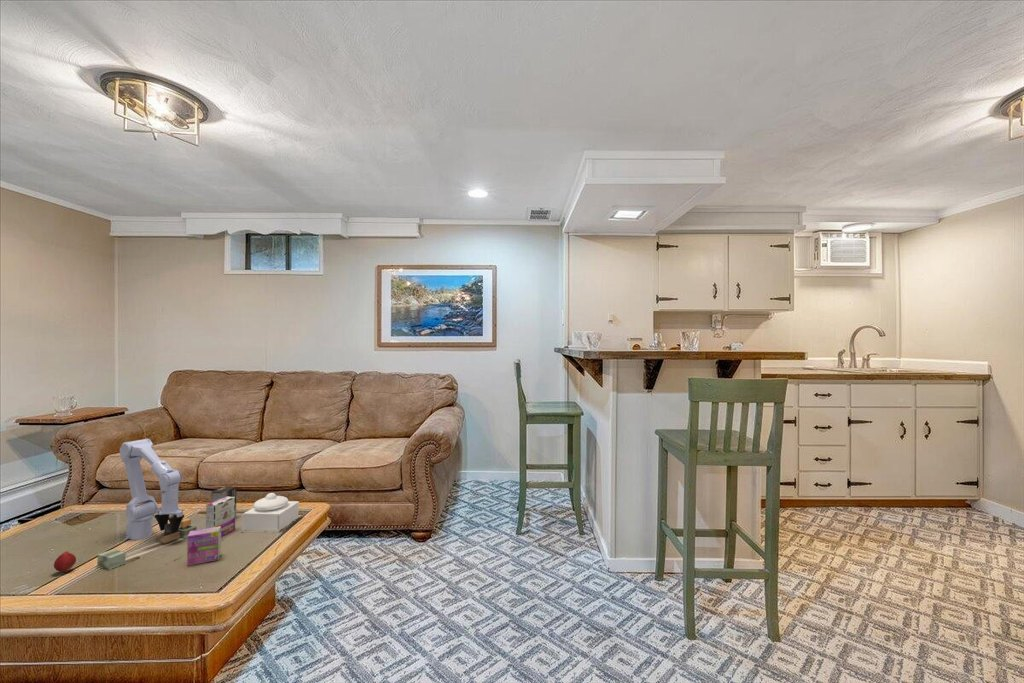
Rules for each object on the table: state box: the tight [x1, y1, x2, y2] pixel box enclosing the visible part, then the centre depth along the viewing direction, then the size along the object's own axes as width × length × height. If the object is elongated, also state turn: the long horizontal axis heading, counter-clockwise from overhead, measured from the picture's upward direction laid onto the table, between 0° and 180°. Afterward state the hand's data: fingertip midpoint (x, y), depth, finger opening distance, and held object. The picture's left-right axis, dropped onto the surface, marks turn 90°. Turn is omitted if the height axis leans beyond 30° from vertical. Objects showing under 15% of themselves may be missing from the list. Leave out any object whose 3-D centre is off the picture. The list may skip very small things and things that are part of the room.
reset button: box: [180, 518, 192, 530], centre depth 193 cm, size 3×3×4 cm
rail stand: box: [96, 525, 198, 570], centre depth 181 cm, size 8×32×4 cm, turn 160°
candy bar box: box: [205, 496, 236, 538], centre depth 195 cm, size 11×5×16 cm, turn 168°
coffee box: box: [211, 485, 237, 519], centre depth 213 cm, size 9×6×16 cm
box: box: [186, 526, 222, 567], centre depth 172 cm, size 10×6×12 cm, turn 117°
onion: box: [53, 550, 77, 573], centre depth 163 cm, size 6×6×8 cm
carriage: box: [155, 522, 180, 543], centre depth 187 cm, size 6×6×6 cm
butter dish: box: [241, 492, 300, 531], centre depth 208 cm, size 18×18×16 cm
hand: (169, 531), depth 187 cm, fingers open, 7 cm apart
